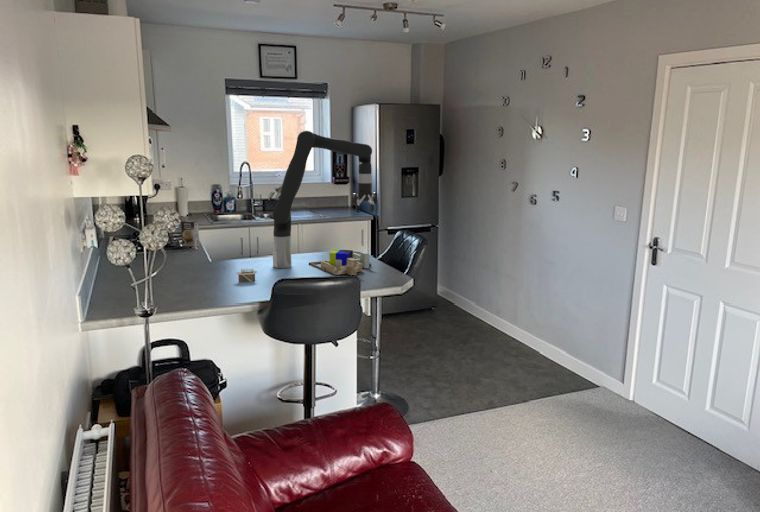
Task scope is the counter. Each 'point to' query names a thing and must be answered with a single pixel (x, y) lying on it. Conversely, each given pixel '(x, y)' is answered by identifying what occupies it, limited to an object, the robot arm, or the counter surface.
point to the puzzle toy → (340, 257)
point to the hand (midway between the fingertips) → (364, 212)
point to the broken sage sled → (362, 259)
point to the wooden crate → (246, 275)
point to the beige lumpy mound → (343, 267)
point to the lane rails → (320, 263)
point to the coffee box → (190, 233)
